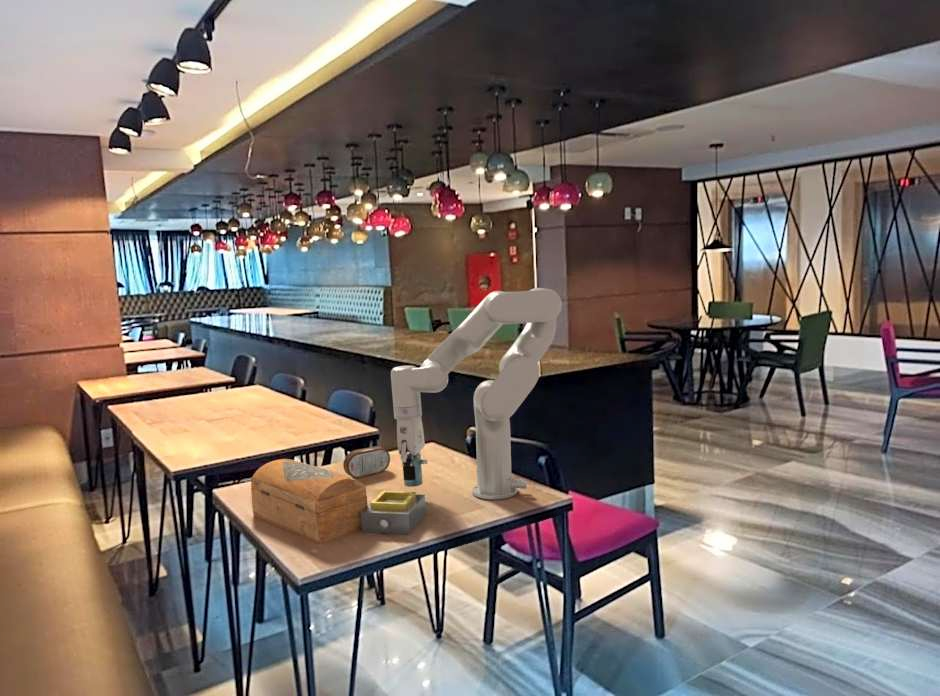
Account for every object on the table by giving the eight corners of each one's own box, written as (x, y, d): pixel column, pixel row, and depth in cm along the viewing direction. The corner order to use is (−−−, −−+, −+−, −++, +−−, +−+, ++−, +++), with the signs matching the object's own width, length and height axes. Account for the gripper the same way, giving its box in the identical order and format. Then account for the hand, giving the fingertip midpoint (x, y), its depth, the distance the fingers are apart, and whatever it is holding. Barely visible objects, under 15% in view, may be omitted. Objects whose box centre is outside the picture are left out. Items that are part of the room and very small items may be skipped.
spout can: (431, 480, 190) (428, 452, 189) (426, 486, 185) (423, 458, 184) (407, 480, 192) (405, 452, 191) (402, 486, 187) (399, 458, 186)
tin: (387, 469, 218) (386, 443, 217) (392, 471, 216) (390, 445, 215) (343, 478, 210) (342, 452, 209) (348, 481, 207) (346, 454, 206)
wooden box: (373, 525, 172) (370, 471, 170) (317, 546, 160) (313, 488, 158) (306, 499, 192) (303, 451, 191) (252, 516, 181) (248, 465, 179)
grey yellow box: (425, 513, 178) (424, 489, 177) (407, 537, 163) (406, 510, 162) (381, 511, 180) (380, 487, 180) (359, 534, 165) (358, 508, 165)
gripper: (411, 418, 177) (417, 486, 179) (429, 404, 194) (434, 466, 196) (384, 419, 179) (389, 486, 181) (404, 404, 195) (409, 466, 197)
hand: (412, 475), depth 188 cm, fingers closed on spout can, 5 cm apart
